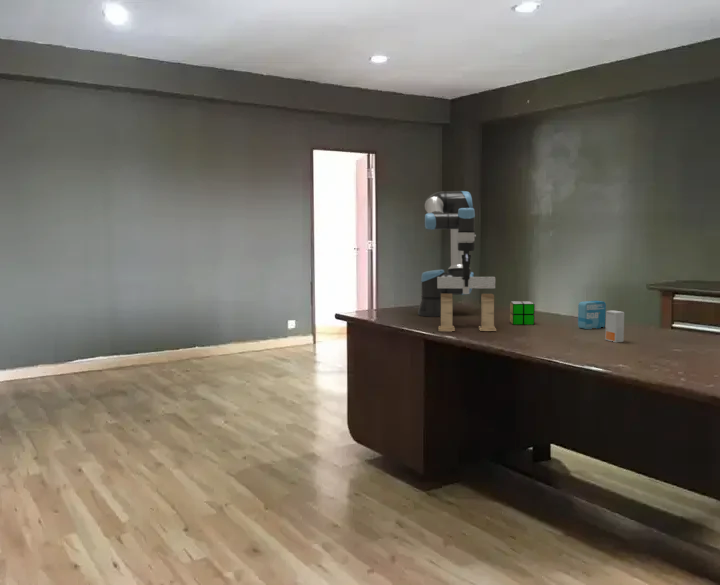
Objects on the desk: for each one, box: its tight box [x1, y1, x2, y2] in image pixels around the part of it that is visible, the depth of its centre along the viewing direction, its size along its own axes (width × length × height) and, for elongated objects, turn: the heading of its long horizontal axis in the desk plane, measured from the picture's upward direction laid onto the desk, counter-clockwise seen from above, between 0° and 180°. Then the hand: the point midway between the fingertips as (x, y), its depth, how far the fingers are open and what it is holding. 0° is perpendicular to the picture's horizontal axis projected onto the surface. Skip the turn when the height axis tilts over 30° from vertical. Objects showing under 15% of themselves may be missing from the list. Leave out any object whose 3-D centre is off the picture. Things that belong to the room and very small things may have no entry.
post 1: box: [437, 294, 456, 332], centre depth 299 cm, size 8×7×16 cm
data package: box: [577, 300, 607, 330], centre depth 302 cm, size 12×4×12 cm, turn 114°
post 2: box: [478, 293, 497, 332], centre depth 298 cm, size 8×7×16 cm
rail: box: [437, 276, 496, 289], centre depth 307 cm, size 4×26×5 cm, turn 84°
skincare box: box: [604, 309, 625, 343], centre depth 268 cm, size 6×4×12 cm
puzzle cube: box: [509, 300, 536, 326], centre depth 318 cm, size 10×10×10 cm
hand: (465, 293), depth 307 cm, fingers closed on rail, 4 cm apart
